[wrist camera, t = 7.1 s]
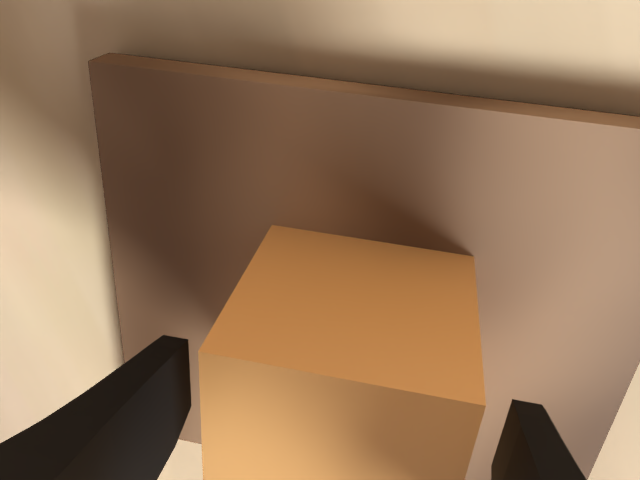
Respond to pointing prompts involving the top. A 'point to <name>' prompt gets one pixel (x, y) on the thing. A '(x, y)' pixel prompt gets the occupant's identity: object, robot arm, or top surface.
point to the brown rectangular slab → (382, 216)
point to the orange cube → (343, 364)
